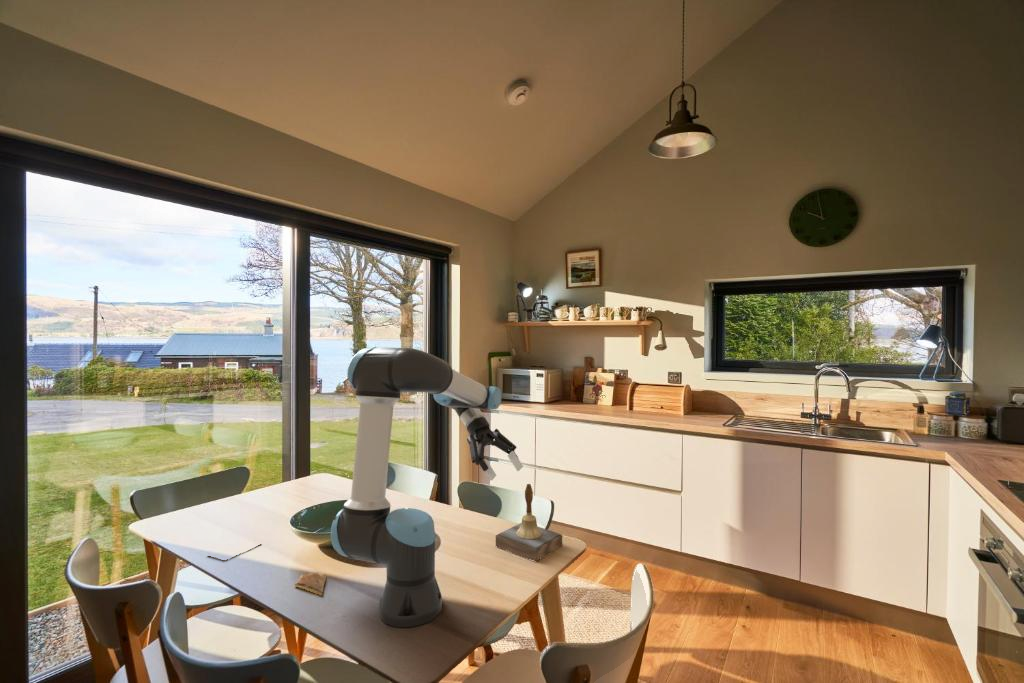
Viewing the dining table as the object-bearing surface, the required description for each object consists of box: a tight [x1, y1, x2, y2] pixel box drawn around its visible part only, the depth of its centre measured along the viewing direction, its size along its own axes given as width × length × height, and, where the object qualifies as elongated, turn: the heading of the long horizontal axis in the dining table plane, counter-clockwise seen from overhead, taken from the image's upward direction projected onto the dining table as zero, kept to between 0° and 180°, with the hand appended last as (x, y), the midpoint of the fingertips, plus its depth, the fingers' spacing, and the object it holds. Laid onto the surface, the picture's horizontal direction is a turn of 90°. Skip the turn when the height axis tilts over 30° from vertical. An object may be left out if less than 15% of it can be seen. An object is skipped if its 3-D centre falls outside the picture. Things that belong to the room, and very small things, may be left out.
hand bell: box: [516, 483, 542, 540], centre depth 152 cm, size 8×8×16 cm
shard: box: [294, 572, 327, 596], centre depth 128 cm, size 11×8×2 cm
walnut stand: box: [495, 522, 563, 562], centre depth 152 cm, size 14×16×4 cm
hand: (507, 473), depth 158 cm, fingers open, 13 cm apart
